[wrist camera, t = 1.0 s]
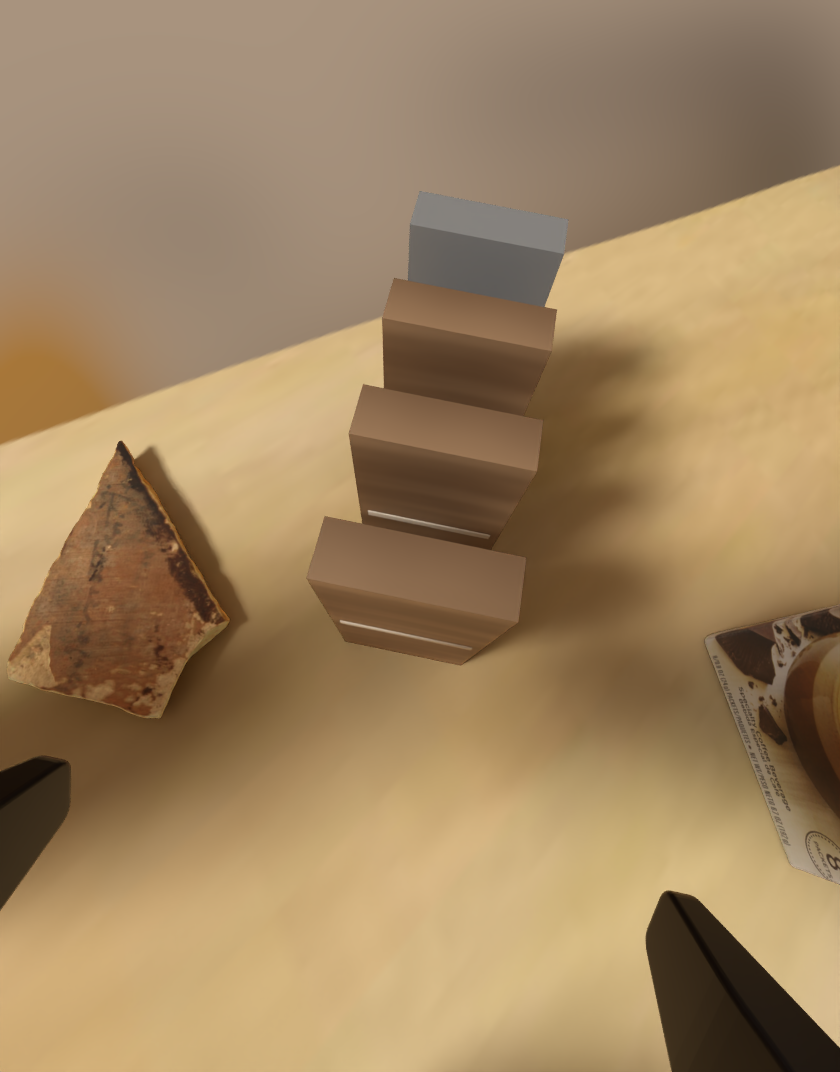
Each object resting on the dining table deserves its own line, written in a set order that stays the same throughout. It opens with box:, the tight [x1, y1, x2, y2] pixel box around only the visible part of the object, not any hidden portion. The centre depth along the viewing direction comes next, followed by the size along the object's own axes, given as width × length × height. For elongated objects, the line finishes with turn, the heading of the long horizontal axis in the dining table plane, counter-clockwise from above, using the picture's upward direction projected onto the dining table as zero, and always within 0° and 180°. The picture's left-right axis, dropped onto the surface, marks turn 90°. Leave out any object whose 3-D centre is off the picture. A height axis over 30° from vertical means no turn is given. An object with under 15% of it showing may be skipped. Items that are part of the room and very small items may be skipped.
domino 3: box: [349, 384, 543, 550], centre depth 18 cm, size 2×5×10 cm, turn 79°
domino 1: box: [408, 191, 568, 307], centre depth 20 cm, size 2×5×10 cm, turn 79°
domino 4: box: [307, 516, 526, 665], centre depth 16 cm, size 2×5×10 cm, turn 79°
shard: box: [7, 441, 230, 718], centre depth 21 cm, size 11×8×2 cm
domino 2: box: [382, 278, 557, 416], centre depth 19 cm, size 2×5×10 cm, turn 79°
